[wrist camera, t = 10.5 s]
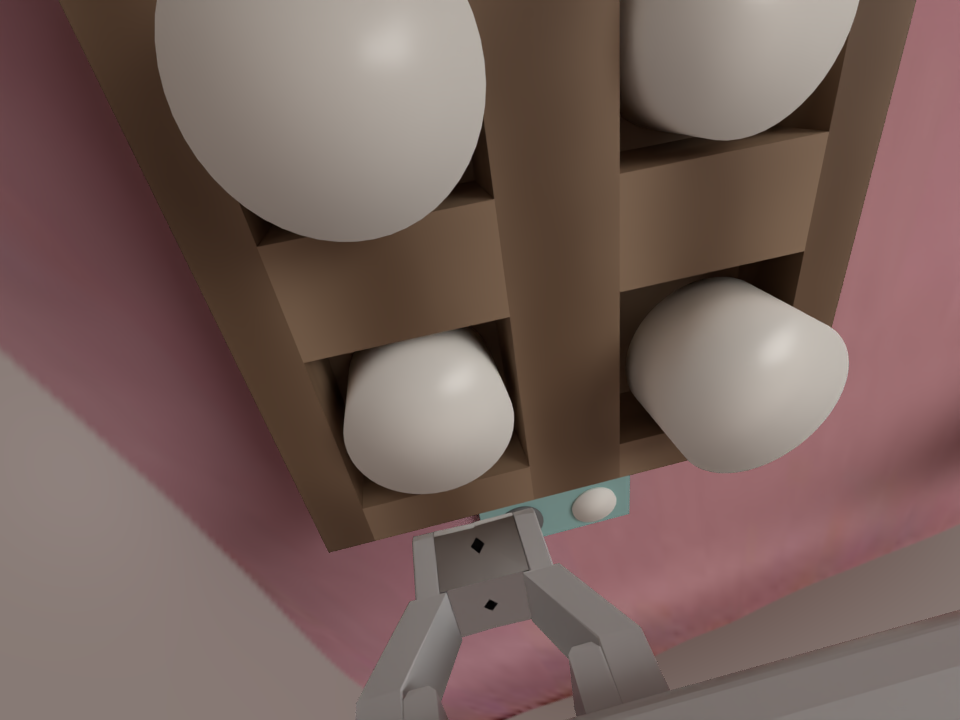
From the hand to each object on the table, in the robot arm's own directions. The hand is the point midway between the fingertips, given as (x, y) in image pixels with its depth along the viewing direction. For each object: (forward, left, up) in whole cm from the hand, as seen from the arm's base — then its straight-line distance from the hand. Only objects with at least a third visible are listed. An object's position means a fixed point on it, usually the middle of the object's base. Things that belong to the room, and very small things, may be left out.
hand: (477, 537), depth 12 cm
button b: (+1, -10, -6) cm, 11 cm away
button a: (-9, -10, -8) cm, 16 cm away
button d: (+1, 0, -8) cm, 8 cm away
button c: (-9, 0, -6) cm, 11 cm away
